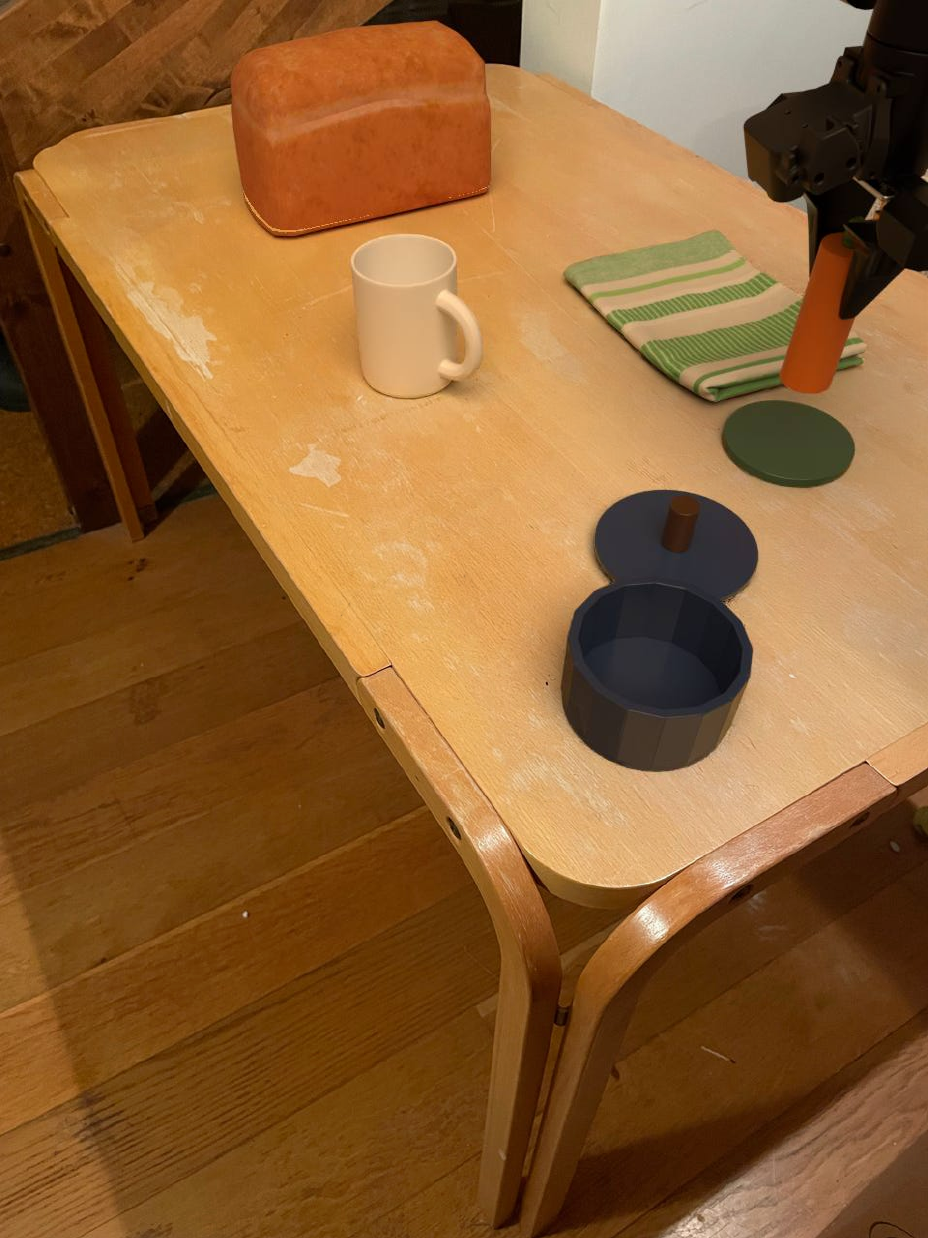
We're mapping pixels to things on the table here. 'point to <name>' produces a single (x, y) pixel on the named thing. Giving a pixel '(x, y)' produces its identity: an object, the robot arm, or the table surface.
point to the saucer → (788, 443)
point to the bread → (360, 124)
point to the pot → (654, 672)
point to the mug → (411, 316)
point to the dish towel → (699, 313)
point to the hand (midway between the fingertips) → (831, 302)
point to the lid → (677, 541)
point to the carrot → (820, 319)
